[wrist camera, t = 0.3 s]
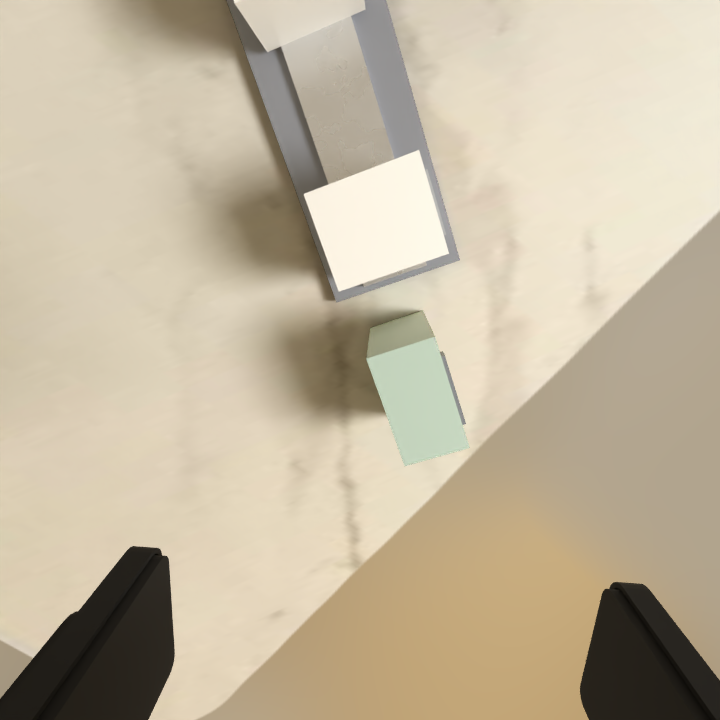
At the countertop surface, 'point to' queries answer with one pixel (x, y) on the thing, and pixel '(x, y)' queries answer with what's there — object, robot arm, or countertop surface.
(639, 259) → the countertop surface
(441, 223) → the board
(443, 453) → the block
